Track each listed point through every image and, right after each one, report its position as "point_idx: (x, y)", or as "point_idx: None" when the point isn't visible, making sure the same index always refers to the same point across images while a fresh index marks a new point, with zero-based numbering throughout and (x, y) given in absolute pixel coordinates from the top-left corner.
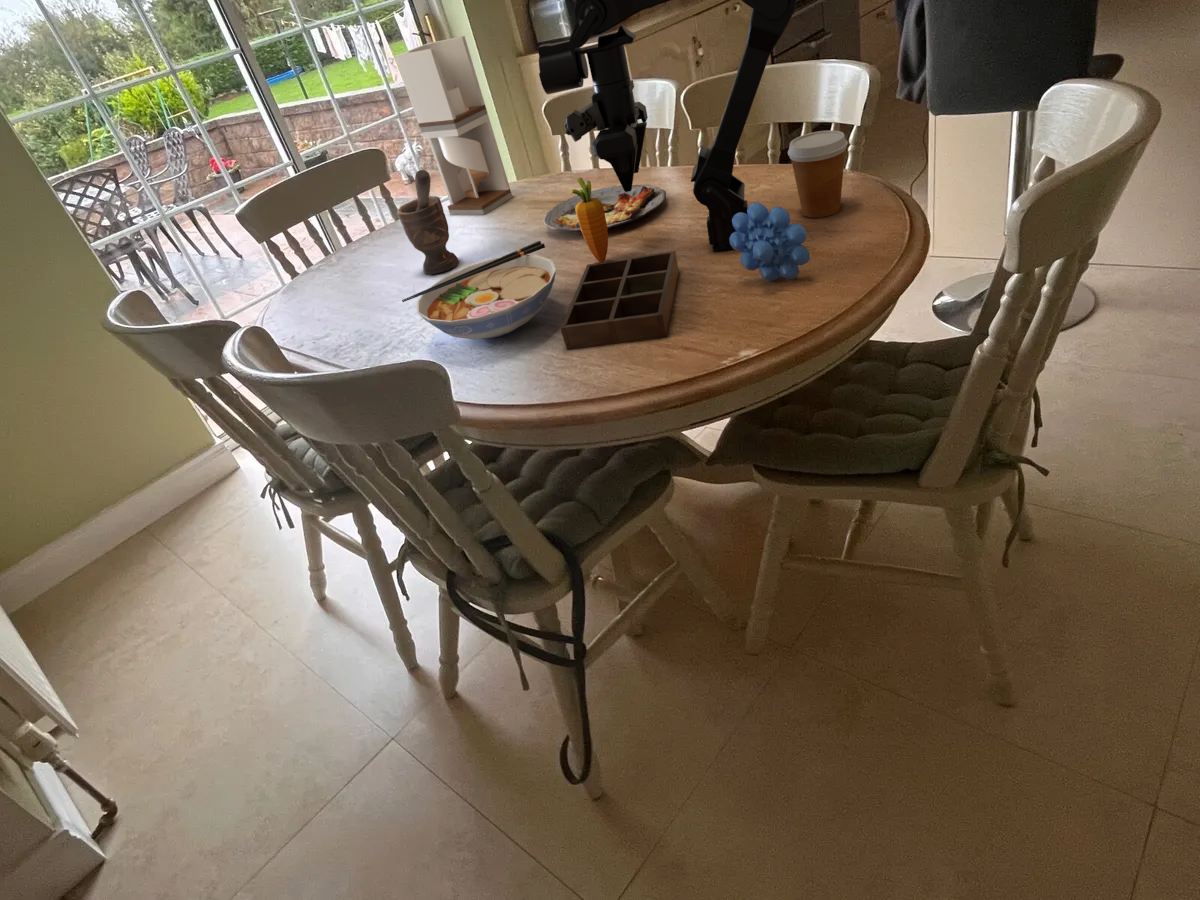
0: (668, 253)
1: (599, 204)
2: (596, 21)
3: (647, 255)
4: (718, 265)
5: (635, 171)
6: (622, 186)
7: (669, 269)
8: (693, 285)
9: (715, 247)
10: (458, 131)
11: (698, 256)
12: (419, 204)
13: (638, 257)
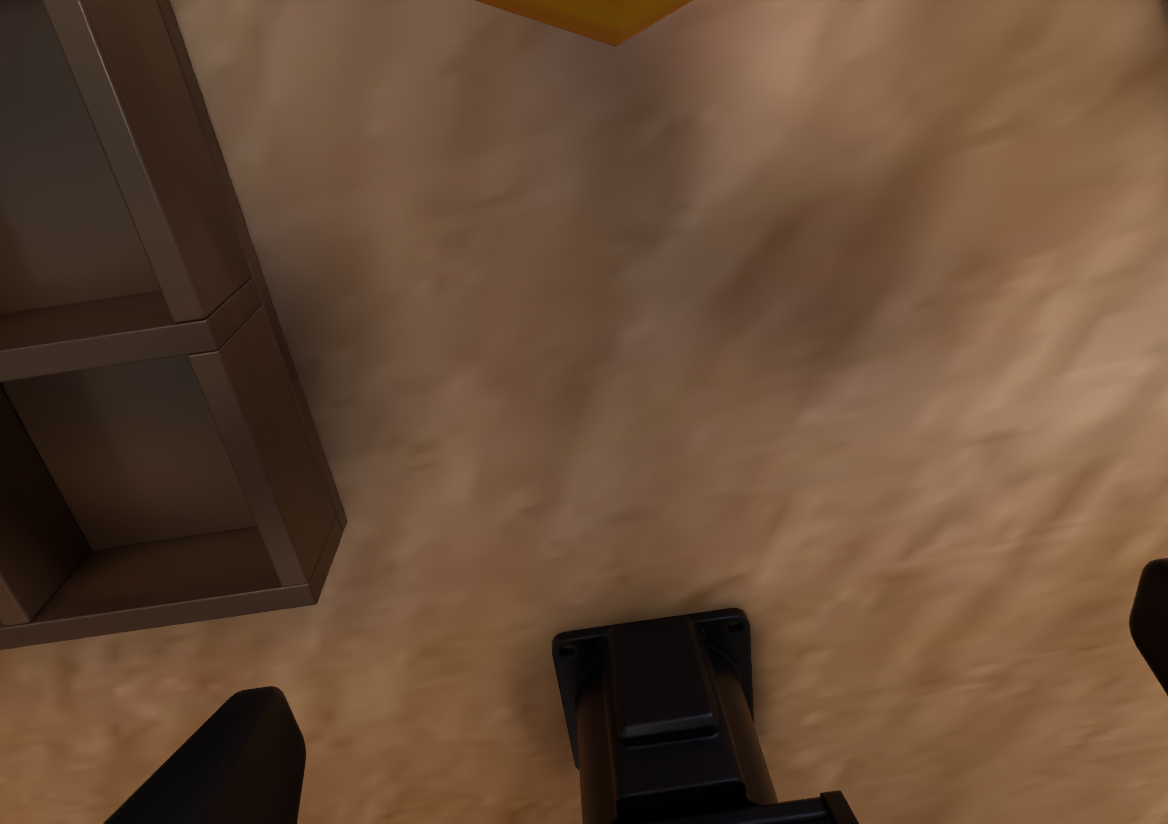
0: (277, 575)
1: (553, 12)
2: None
3: (245, 455)
4: (401, 676)
5: (1148, 619)
6: (159, 769)
7: (33, 637)
8: None
9: (576, 651)
10: None
11: (527, 574)
12: None
13: (211, 400)
